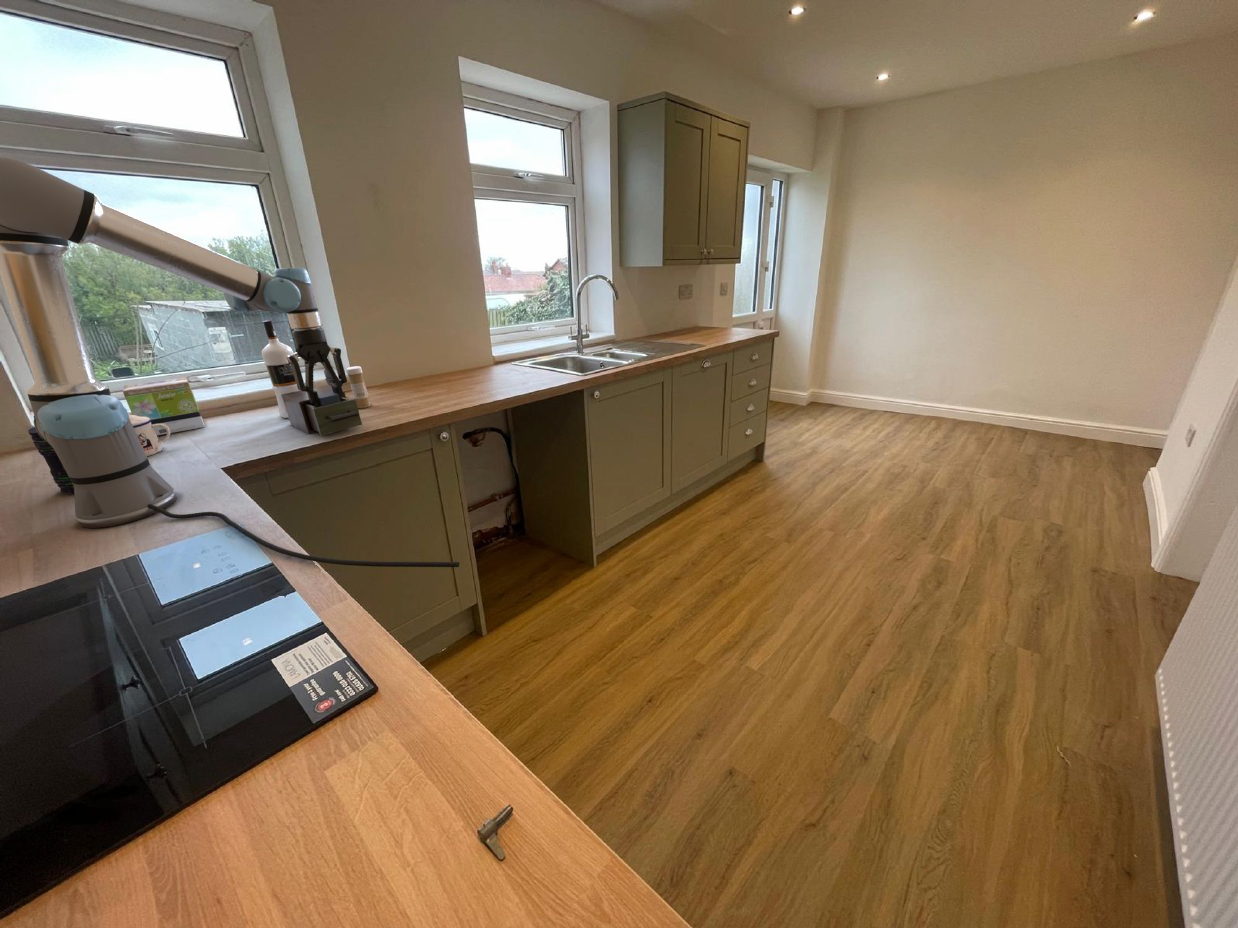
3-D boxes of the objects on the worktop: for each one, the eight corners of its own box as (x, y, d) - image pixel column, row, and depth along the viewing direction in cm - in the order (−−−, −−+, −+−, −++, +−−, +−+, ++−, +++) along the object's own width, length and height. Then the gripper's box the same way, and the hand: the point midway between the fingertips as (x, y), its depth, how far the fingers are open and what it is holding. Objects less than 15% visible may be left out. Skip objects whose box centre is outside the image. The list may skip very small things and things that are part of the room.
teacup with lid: (116, 463, 130) (95, 420, 125) (123, 453, 137) (104, 412, 132) (174, 451, 136) (157, 410, 131) (178, 442, 143) (162, 403, 138)
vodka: (295, 410, 169) (266, 318, 158) (319, 410, 168) (292, 318, 156) (273, 418, 161) (241, 323, 149) (298, 419, 159) (267, 322, 147)
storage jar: (74, 481, 120) (43, 422, 114) (126, 473, 123) (98, 415, 117) (51, 498, 111) (15, 435, 105) (107, 489, 115) (76, 427, 109)
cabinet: (352, 422, 154) (344, 391, 150) (308, 433, 145) (298, 401, 142) (333, 414, 163) (325, 385, 159) (290, 424, 154) (281, 394, 150)
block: (343, 411, 145) (338, 394, 143) (325, 415, 142) (320, 398, 140) (336, 408, 148) (331, 391, 146) (318, 412, 145) (313, 395, 143)
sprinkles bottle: (372, 404, 172) (362, 365, 166) (369, 408, 168) (359, 368, 162) (358, 405, 171) (347, 366, 166) (354, 409, 167) (344, 369, 162)
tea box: (142, 440, 147) (120, 391, 141) (143, 432, 154) (122, 385, 148) (206, 427, 156) (187, 380, 150) (203, 420, 163) (186, 375, 157)
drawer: (369, 427, 145) (363, 401, 142) (328, 439, 137) (320, 412, 134) (343, 417, 156) (336, 392, 153) (303, 427, 148) (295, 401, 145)
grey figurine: (339, 400, 178) (330, 367, 173) (323, 401, 178) (314, 368, 174) (348, 396, 184) (339, 363, 179) (332, 396, 184) (323, 364, 179)
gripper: (336, 323, 144) (356, 401, 153) (265, 332, 132) (291, 416, 141) (347, 325, 140) (367, 405, 149) (274, 334, 127) (301, 421, 136)
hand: (330, 410), depth 145 cm, fingers closed on block, 5 cm apart
